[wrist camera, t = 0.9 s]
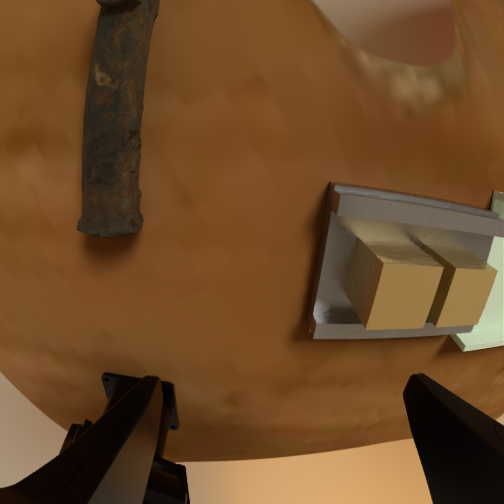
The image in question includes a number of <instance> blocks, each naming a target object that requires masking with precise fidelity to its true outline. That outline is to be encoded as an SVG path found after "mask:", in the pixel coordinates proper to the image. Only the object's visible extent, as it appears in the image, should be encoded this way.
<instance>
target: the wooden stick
mask: <svg viewBox="0 0 504 504" xmlns="http://www.w3.org/2000/svg"><path fill="white" fill-rule="evenodd" d="M96 1H97V3H98V4H99V5H101V10H100V15H99V17H98V24H97V25H98V26H97V33H96V39H95V46H94V51H93V54H92V57H91V65H90V72H89V79H88V86H87V92H86V101H85V112H84V129H83V147H82V190H83V196H82V197H83V204H82V217H81V218H80V220H79V221H78V225H77V230H78V231H80V232H82V233H85V234H90V235H95V236H101V237H102V238H107V239H110V238H113V237H116V236H121V235H127V234H132V233H136V232H138V231H139V230H140V229H141V227H142V223H143V221H144V220H143V216H142V214H141V213H140V212H139V210H138V205H139V202H140V199H141V191H140V190H139V188H138V178H139V165H140V159H141V153H140V148H141V138H140V124H141V117H142V112H143V107H144V106H143V96H144V83H145V74H146V66H147V59H148V52H149V44H150V38H151V33H152V26H153V22H154V19H155V17H156V16H157V15H158V11H159V2H160V0H96Z"/></svg>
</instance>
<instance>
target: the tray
mask: <svg viewBox="0 0 504 504" xmlns="http://www.w3.org/2000/svg"><path fill="white" fill-rule="evenodd" d="M490 210H492V211H494V212H496V213H498V214H499V218H500V219H502V220H504V193H502V192H498V191H495V190H494V194H493V199H492V204H491V209H490ZM487 263H488V264H489V265H491V266H492V267H493V268H495V269H496V270H498V272H497V275H496V278H495V281H494V284H493V287H492V289H491V292H490V295H489V298H488V300H487V303H486V305H485V308H484V310H483V313H482V315H481V318H480V320H479V322H478V325H474V327H473V329H472V332H471V333H460V334H450V336H451V337H452V339H453V340H454V341H455V342H456V343H457V345H458V346H459V347H460V348H461V350H462V351H463V352H464V351H471V350H478V349H484V348H490V347H496V346H502V345H504V238H502V237H496V236H494V239H493V243H492V246H491V250H490V253H489V257H488V260H487Z"/></svg>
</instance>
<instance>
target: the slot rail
mask: <svg viewBox="0 0 504 504" xmlns="http://www.w3.org/2000/svg"><path fill="white" fill-rule="evenodd" d="M494 236H496V237H502V238H504V220H502V219H500V218H499V214H498V213H496V212H494V211H492V210H489V209H485V208H480V207H476V206H471V205H467V204H462V203H457V202H452V201H447V200H442V199H437V198H432V197H427V196H421V195H416V194H410V193H404V192H398V191H392V190H386V189H379V188H373V187H366V186H359V185H352V184H344V183H337V182H330V184H329V191H328V199H327V206H326V212H325V219H324V226H323V232H322V238H321V245H320V251H319V257H318V262H317V268H316V274H315V279H314V285H313V290H312V296H311V301H310V306H309V311H308V316H307V321H306V323H307V326H308V330H309V332H311V333H312V337H313V339H373V338H401V337H420V336H435V335H449V334H460V333H471V332H472V329H473V327H474V325H466V326H452V327H436V328H435V326H434V325H433V324H432V323H431V322H430V320H429V319H428V318H427V319H426V322H425V324H424V327H423V328H415V329H383V330H365V328H364V326H363V324H362V323H361V321H360V319H359V317H358V315H357V314H356V312H355V310H354V308H353V306H352V305H351V303H350V301H349V299H348V298H347V296H346V293H347V289H348V284H349V280H350V276H351V271H352V266H353V262H354V257H355V252H356V247H357V242H358V237H361V238H371V239H382V240H393V241H403V242H412V243H414V244H415V245H416V246H418V247H419V248H420V249H421V250H423V246H424V244H432V245H442V246H451V247H460V248H466V249H467V250H469V251H470V252H472V253H473V254H475V255H476V256H478V257H479V258H481V259H482V260H483V261H485V262H486V263H487V260H488V257H489V253H490V250H491V246H492V243H493V239H494Z"/></svg>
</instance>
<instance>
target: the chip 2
mask: <svg viewBox="0 0 504 504" xmlns="http://www.w3.org/2000/svg"><path fill="white" fill-rule="evenodd" d="M423 251H424V252H425V253H427V254H428V255H429V256H430V257H432V258H433V259H434V260H435V261H437V262H438V263H439V264H440V265H442V266H443V267H444V268H443V272H442V275H441V278H440V281H439V285H438V288H437V291H436V294H435V297H434V300H433V303H432V305H431V308H430V311H429V314H428V316H427V318H428V319H429V320H430V322H431V323H432V324H433V325H434V326H435V328H436V327H452V326H466V325H478V322H479V320H480V318H481V315H482V313H483V310H484V308H485V305H486V303H487V300H488V298H489V295H490V292H491V289H492V287H493V284H494V281H495V278H496V275H497V272H498V270H496V269H495V268H493V267H492V266H491V265H489V264H488V263H486V262H485V261H483V260H482V259H481V258H479V257H478V256H476V255H475V254H473V253H472V252H470V251H469V250H467V249H466V248H460V247H451V246H442V245H432V244H424V246H423Z"/></svg>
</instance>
